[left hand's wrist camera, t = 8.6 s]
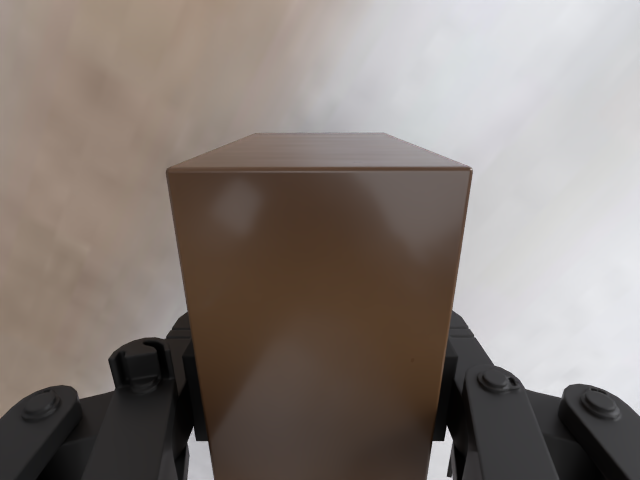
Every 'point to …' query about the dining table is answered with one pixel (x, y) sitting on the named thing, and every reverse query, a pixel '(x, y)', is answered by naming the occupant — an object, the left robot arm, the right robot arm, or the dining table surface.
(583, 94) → the dining table surface
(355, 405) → the bar
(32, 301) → the dining table surface
